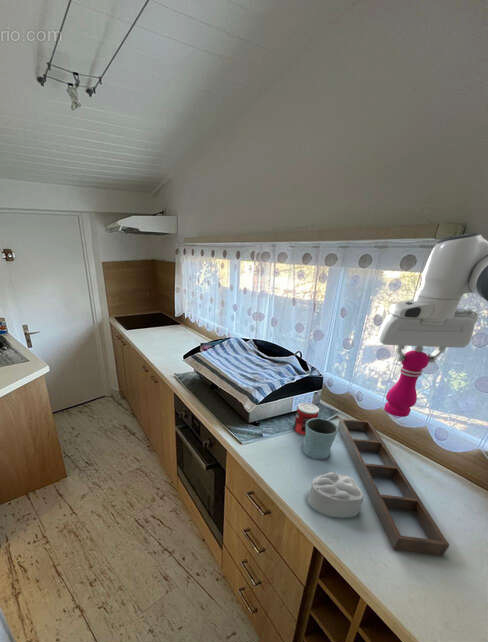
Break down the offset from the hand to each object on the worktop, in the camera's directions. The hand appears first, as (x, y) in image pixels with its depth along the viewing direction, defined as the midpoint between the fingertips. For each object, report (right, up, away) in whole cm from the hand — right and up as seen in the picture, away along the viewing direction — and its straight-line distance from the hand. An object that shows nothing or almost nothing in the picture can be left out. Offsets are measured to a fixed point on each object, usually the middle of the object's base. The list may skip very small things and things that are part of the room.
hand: (414, 361), depth 82 cm
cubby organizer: (0, -36, +17) cm, 39 cm away
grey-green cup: (-15, -30, +28) cm, 43 cm away
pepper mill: (0, -14, +8) cm, 16 cm away
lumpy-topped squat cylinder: (-19, -41, +7) cm, 46 cm away
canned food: (-14, -23, +40) cm, 49 cm away
